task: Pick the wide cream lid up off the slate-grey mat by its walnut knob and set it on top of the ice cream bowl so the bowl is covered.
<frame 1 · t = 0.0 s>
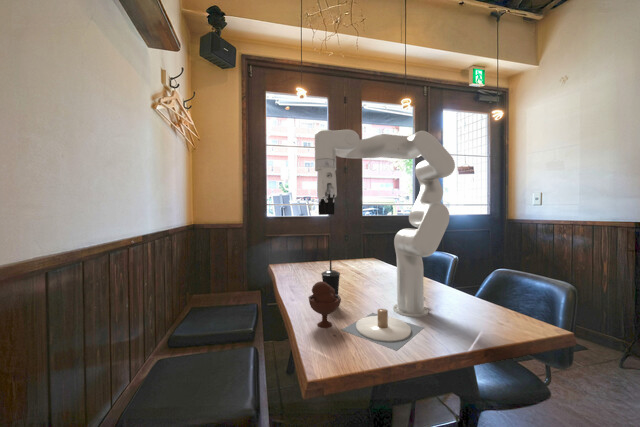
hand: (326, 214, 91), 37 cm above the table, tool pointing down, fingers open, 9 cm apart
mat: (382, 330, 82), on the table
ice cream bowl: (324, 326, 86), on the table
lid: (382, 328, 82), resting on mat
drinking cup: (331, 307, 104), on the table
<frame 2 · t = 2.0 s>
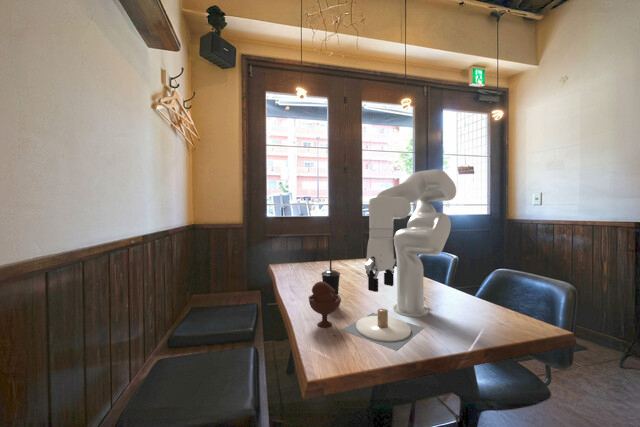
hand: (381, 288, 82), 14 cm above the table, tool pointing down, fingers open, 9 cm apart
nothing on the table moved.
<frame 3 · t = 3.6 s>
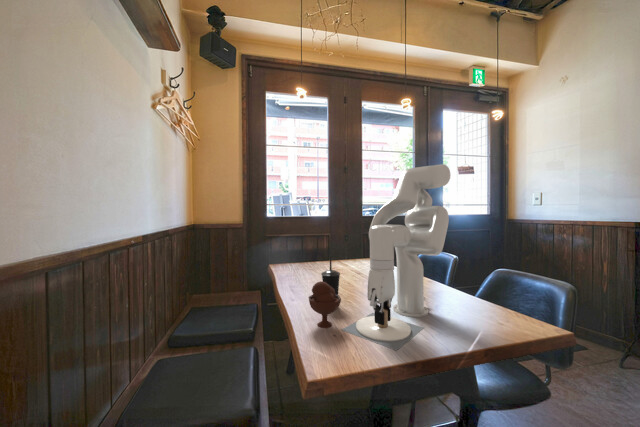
hand: (382, 321, 82), 3 cm above the table, tool pointing down, fingers closed on lid, 3 cm apart
lid: (382, 328, 82), point 1 cm above the table, touching gripper, mat
everything else where it was.
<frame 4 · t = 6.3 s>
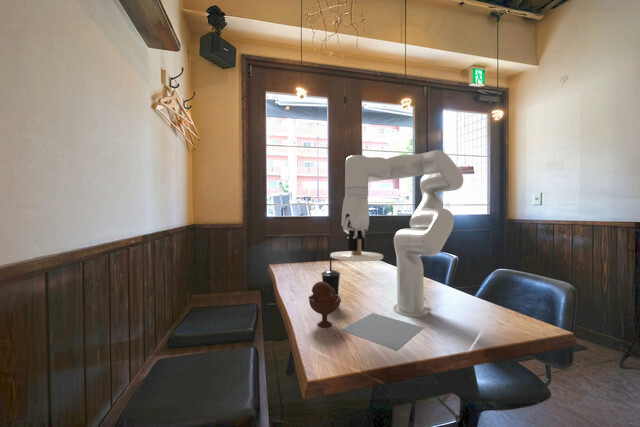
hand: (356, 249, 84), 26 cm above the table, tool pointing down, fingers closed on lid, 3 cm apart
lid: (356, 256, 84), point 23 cm above the table, touching gripper
everything else where it was.
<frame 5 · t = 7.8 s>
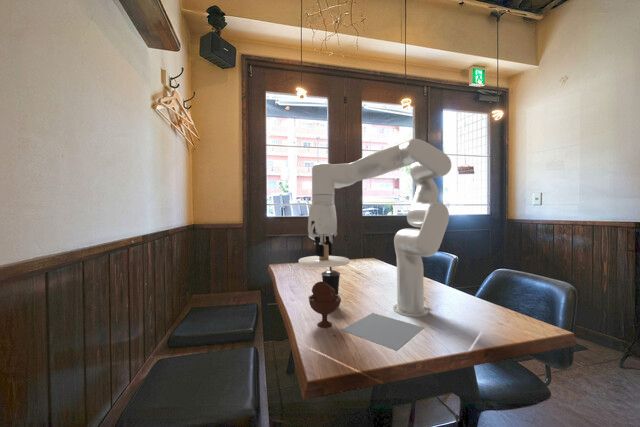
hand: (323, 255, 86), 24 cm above the table, tool pointing down, fingers closed on lid, 3 cm apart
lid: (323, 262, 86), point 21 cm above the table, touching gripper
everything else where it was.
when the fingers open (19 cm above the table, at t = 9.0 s): lid drops 1 cm, resting on ice cream bowl.
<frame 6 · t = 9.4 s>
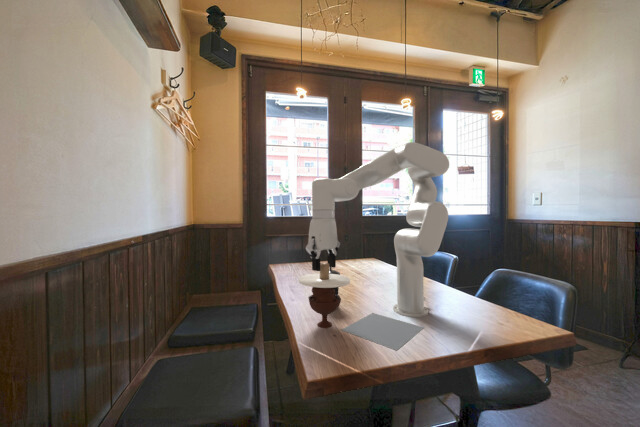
hand: (324, 268, 86), 19 cm above the table, tool pointing down, fingers open, 7 cm apart
ice cream bowl: (324, 326, 86), on the table, touching lid
lid: (324, 281, 86), point 15 cm above the table, touching ice cream bowl
everything else where it was.
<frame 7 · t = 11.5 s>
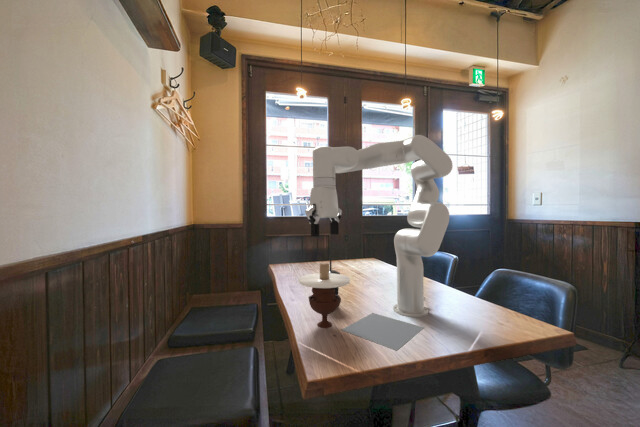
hand: (325, 235, 86), 30 cm above the table, tool pointing down, fingers open, 9 cm apart
nothing on the table moved.
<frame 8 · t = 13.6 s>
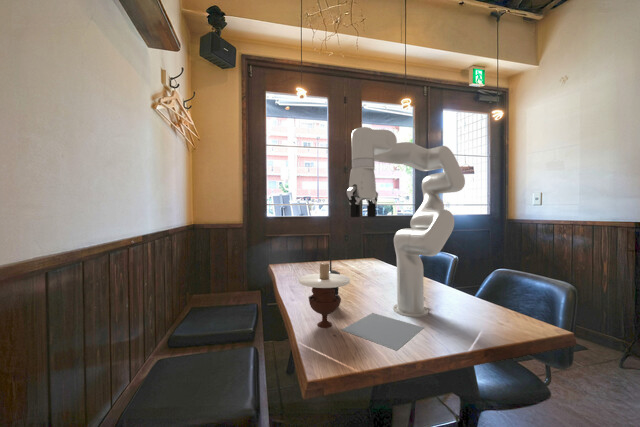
hand: (363, 217, 86), 36 cm above the table, tool pointing down, fingers open, 9 cm apart
nothing on the table moved.
at the end: lid 0.1 cm from the ice cream bowl (horizontally); lid point 15.0 cm above the table; lid tilted 1° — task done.
